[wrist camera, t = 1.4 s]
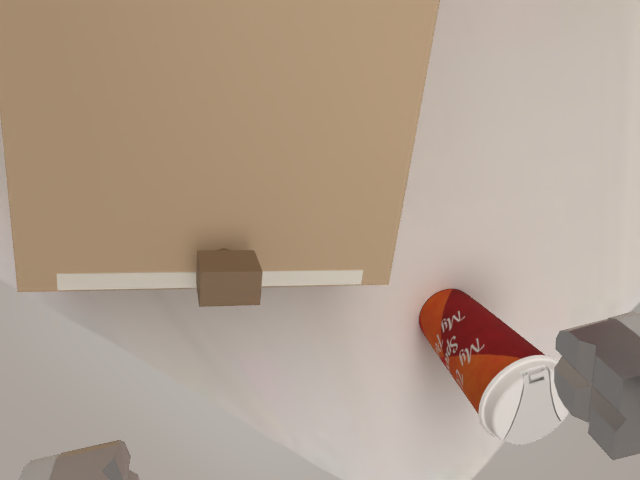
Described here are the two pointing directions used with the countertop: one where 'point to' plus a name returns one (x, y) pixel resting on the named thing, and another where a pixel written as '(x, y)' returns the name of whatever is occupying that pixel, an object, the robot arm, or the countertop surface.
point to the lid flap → (209, 141)
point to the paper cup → (494, 368)
